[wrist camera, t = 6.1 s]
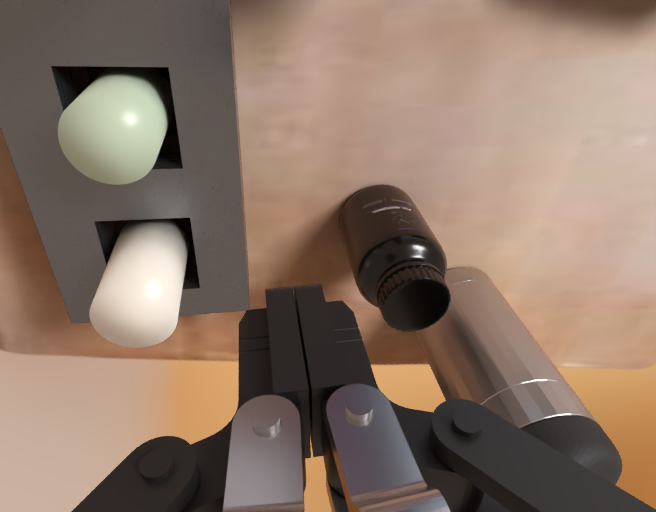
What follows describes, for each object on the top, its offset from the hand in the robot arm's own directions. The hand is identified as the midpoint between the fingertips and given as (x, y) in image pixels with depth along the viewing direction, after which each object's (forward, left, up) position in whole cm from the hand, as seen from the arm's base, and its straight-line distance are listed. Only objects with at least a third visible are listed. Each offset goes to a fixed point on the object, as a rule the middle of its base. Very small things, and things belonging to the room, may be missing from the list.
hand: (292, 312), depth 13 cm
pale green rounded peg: (+2, +8, -23) cm, 24 cm away
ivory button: (-7, +11, -20) cm, 24 cm away
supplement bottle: (-14, -5, -25) cm, 29 cm away
